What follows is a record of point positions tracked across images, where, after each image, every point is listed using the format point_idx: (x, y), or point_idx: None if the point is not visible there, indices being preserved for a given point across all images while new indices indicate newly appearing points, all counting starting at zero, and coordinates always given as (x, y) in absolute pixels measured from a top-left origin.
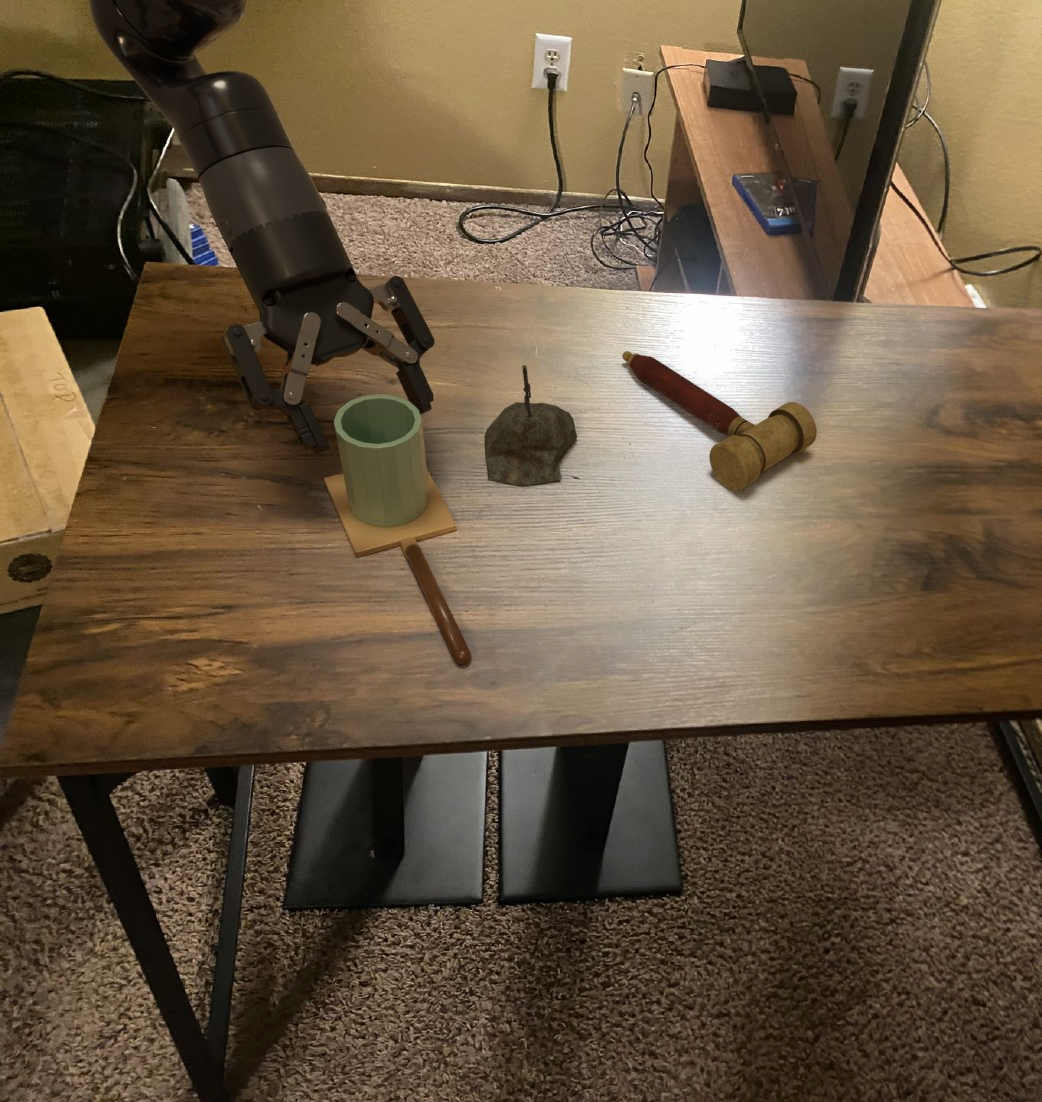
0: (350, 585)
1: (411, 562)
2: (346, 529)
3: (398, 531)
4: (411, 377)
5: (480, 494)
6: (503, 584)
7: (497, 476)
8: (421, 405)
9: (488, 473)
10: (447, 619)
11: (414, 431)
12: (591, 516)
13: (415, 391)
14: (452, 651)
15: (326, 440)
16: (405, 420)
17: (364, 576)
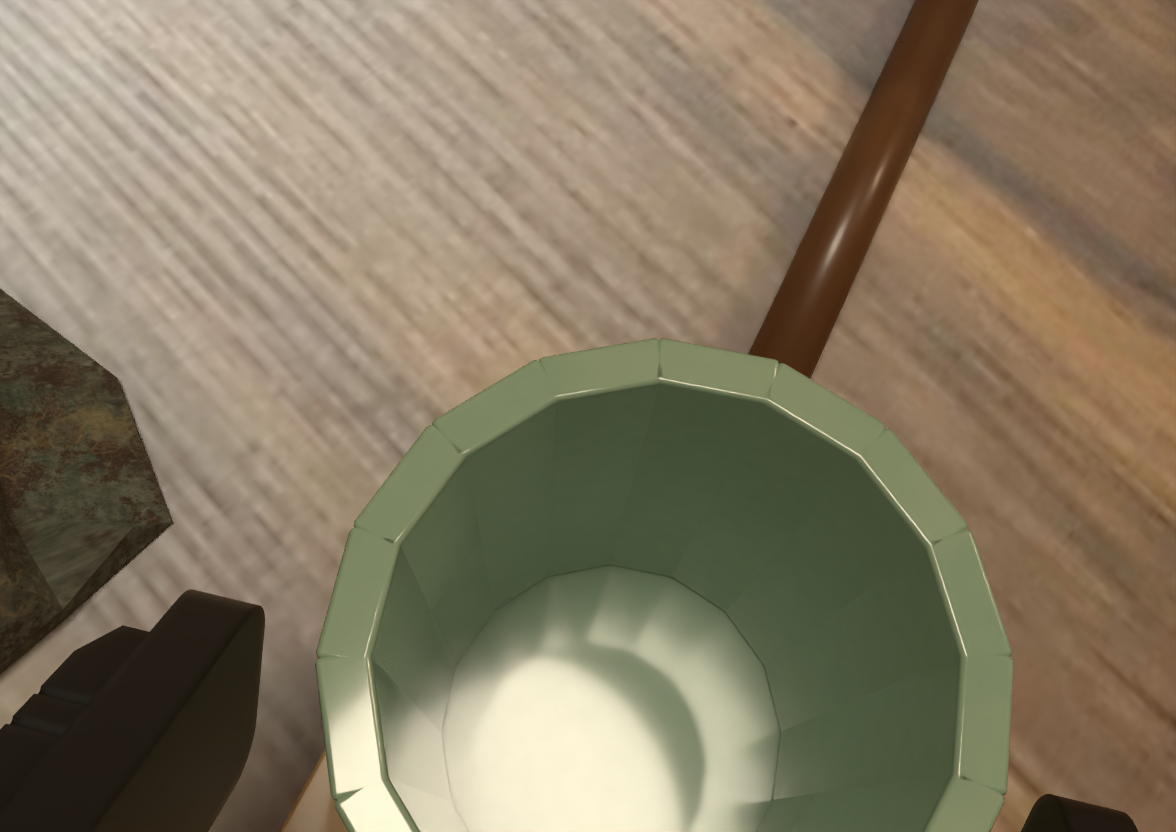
0: (1029, 503)
1: (813, 364)
2: None
3: None
4: (102, 778)
5: (275, 484)
6: (611, 108)
7: (135, 488)
8: (243, 630)
9: (140, 539)
10: (913, 74)
11: (565, 369)
12: (102, 82)
13: (188, 700)
14: (973, 8)
15: (1067, 827)
16: (394, 691)
17: (959, 498)
